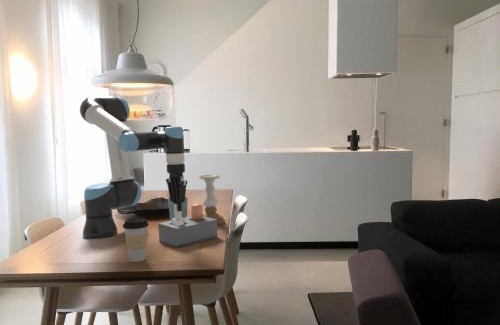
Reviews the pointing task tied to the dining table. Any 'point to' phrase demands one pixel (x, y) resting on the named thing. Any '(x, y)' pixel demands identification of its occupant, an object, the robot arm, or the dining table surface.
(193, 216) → the brown egg
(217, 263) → the dining table surface
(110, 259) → the dining table surface
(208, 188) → the candle holder
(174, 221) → the silver rounded piece
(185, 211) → the drinking glass
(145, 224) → the coffee cup
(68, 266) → the dining table surface
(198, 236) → the block with square holes
